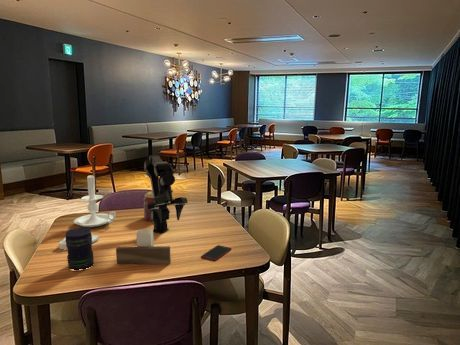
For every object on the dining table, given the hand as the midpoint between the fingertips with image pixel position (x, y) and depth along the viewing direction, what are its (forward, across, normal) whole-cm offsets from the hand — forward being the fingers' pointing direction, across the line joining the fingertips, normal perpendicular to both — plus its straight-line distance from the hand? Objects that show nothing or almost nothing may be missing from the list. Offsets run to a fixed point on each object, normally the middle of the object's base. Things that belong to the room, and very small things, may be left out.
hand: (169, 221), depth 167 cm
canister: (-5, -27, +35) cm, 44 cm away
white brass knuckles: (+4, -45, -8) cm, 46 cm away
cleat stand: (+14, -6, -13) cm, 21 cm away
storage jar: (+13, -28, -27) cm, 42 cm away
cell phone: (+18, +21, +1) cm, 27 cm away
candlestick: (-6, -52, +15) cm, 55 cm away
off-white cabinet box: (+15, -6, -13) cm, 21 cm away
